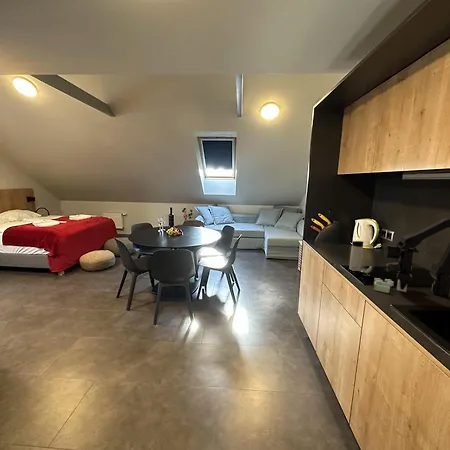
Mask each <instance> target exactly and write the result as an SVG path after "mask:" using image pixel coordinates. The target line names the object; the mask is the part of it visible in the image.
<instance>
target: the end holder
mask: <svg viewBox="0 0 450 450" xmlns="http://www.w3.org/2000/svg"><path fill="white" fill-rule="evenodd" d="M373 289H374V290H373V291H378V292H382V293H387V294H390V290H391V286H390V283H385V282H380V281H375V283H374V282H373Z"/></svg>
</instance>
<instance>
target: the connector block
mask: <svg viewBox="0 0 450 450" xmlns="http://www.w3.org/2000/svg"><path fill="white" fill-rule="evenodd" d="M407 288H408V284H407V285H406V286H405V288H404V289H403V290H402V289H401V287H400V280H399V279H397V285H396V291H400V292H404V293H407Z"/></svg>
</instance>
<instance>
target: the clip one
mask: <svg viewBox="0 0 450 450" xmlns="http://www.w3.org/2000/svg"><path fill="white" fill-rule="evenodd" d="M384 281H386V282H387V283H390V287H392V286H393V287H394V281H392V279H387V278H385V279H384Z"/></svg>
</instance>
